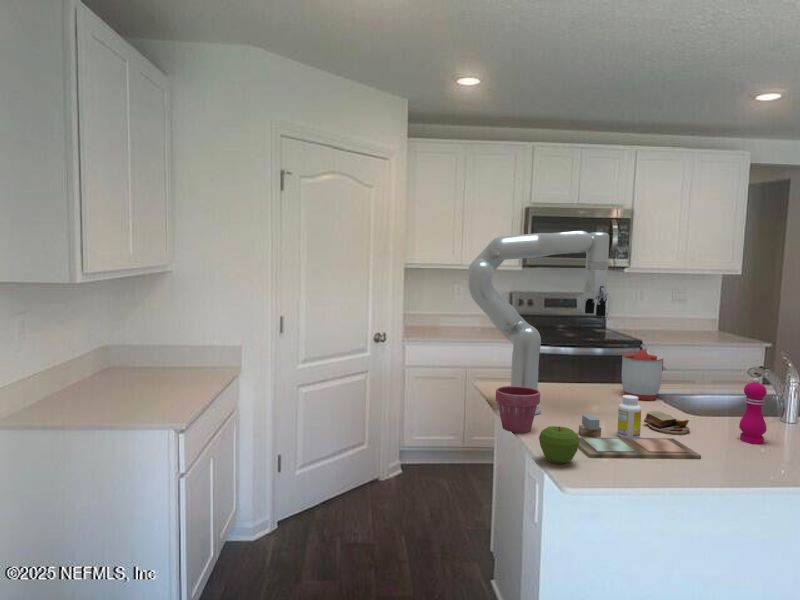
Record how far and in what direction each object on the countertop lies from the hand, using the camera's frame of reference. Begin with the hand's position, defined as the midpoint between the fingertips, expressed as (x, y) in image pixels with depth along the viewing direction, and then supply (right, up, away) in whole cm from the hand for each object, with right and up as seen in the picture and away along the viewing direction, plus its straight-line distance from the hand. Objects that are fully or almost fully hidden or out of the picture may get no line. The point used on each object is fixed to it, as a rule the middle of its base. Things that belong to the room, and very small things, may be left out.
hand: (594, 314), depth 202 cm
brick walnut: (-10, -38, -24) cm, 46 cm away
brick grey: (-10, -35, -24) cm, 44 cm away
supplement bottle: (+2, -38, -25) cm, 45 cm away
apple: (-27, -39, -49) cm, 68 cm away
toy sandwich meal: (+19, -38, -15) cm, 45 cm away
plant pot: (-32, -37, -19) cm, 53 cm away
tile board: (-1, -39, -37) cm, 53 cm away
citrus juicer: (+29, -35, +29) cm, 54 cm away
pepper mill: (+40, -39, -26) cm, 62 cm away
